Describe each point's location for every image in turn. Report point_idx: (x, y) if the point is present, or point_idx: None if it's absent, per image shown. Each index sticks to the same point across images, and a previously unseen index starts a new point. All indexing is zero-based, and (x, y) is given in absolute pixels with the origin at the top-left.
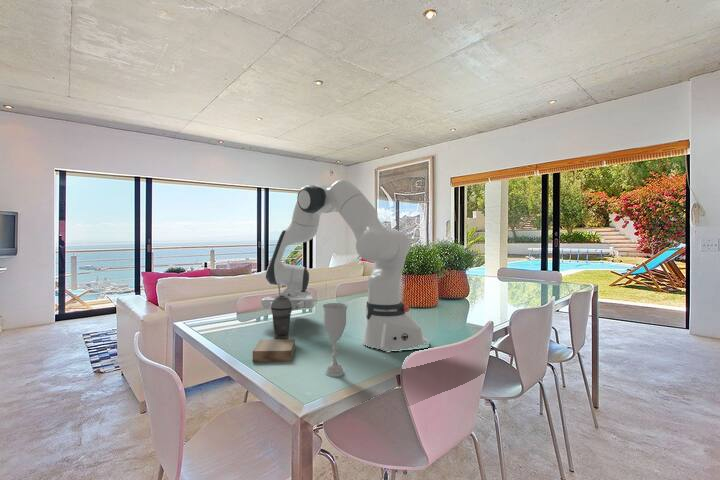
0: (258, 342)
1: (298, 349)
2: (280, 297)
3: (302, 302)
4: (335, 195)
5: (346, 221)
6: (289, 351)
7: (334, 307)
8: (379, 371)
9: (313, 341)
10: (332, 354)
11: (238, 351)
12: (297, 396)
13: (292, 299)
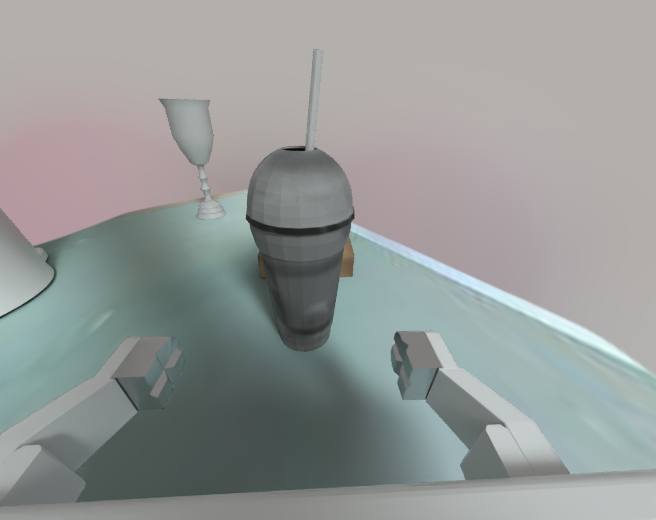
0: (350, 243)
1: (252, 273)
2: (303, 148)
3: (42, 410)
4: None
5: None
6: None
7: (179, 108)
8: (143, 215)
9: (186, 323)
10: (209, 186)
11: (398, 267)
12: None
13: (147, 505)
